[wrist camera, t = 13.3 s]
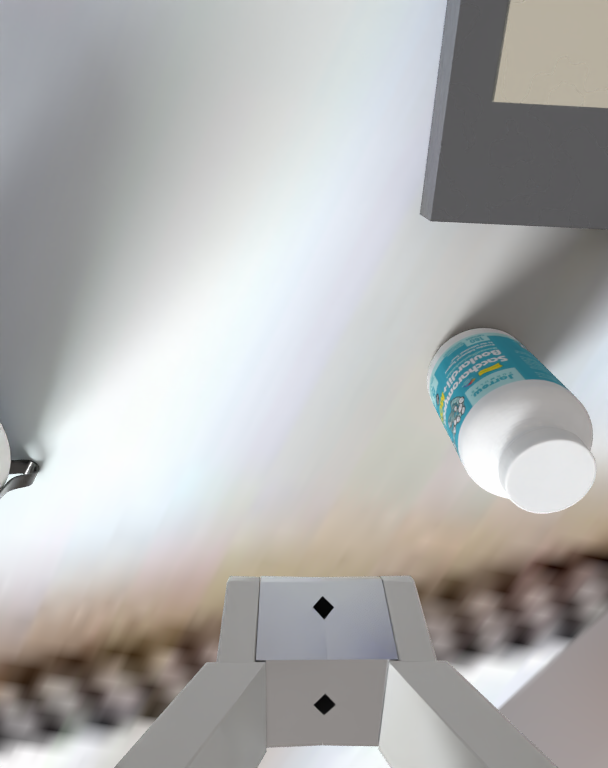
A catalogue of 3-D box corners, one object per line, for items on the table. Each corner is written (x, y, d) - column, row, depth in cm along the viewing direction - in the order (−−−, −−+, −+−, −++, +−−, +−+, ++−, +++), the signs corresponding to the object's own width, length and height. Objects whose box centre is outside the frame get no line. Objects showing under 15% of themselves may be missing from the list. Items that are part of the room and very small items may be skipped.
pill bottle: (464, 305, 39) (544, 387, 27) (546, 354, 40) (657, 453, 28) (403, 390, 41) (451, 500, 29) (482, 433, 43) (559, 554, 31)
